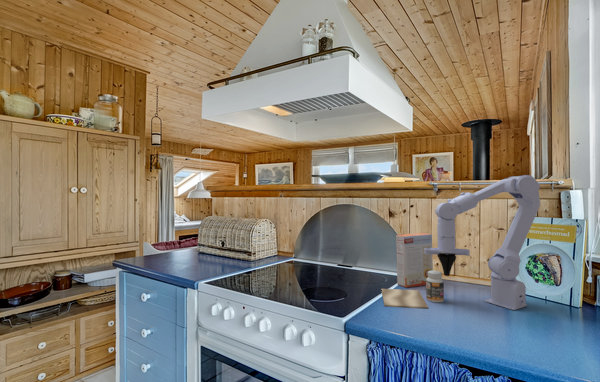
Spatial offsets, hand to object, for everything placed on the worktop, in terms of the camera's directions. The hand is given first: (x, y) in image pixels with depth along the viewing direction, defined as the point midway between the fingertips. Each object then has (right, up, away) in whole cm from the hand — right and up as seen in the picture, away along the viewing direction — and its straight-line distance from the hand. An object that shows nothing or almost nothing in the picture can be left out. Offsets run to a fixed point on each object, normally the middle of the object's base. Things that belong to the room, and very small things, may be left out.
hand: (446, 275), depth 112 cm
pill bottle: (-4, -9, +1) cm, 10 cm away
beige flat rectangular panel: (-15, -9, +3) cm, 17 cm away
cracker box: (-4, -9, +20) cm, 22 cm away
